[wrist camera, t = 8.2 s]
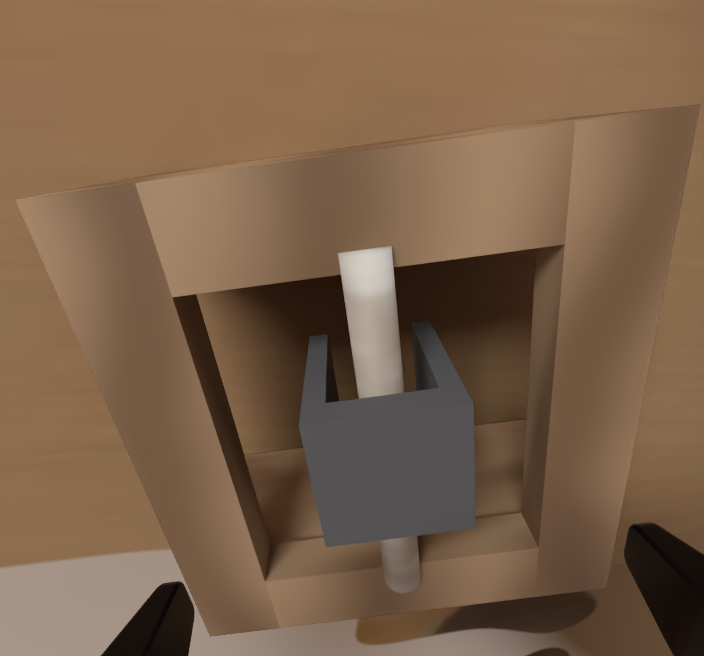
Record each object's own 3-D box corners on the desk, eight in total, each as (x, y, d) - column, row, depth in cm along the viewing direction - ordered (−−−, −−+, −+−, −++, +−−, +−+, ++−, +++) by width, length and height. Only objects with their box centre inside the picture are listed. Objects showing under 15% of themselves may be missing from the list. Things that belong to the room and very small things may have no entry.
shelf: (541, 120, 15) (726, 101, 8) (522, 451, 21) (616, 605, 14) (151, 175, 15) (-7, 203, 8) (247, 486, 21) (205, 655, 14)
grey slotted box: (429, 320, 14) (473, 403, 9) (434, 418, 15) (475, 528, 11) (309, 336, 14) (298, 427, 9) (328, 432, 15) (326, 547, 11)
